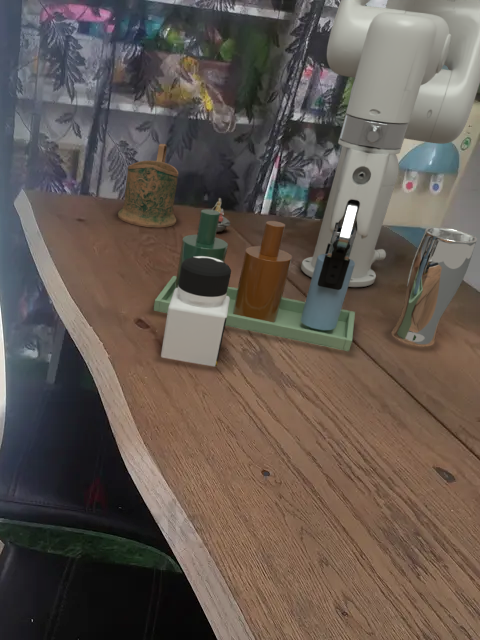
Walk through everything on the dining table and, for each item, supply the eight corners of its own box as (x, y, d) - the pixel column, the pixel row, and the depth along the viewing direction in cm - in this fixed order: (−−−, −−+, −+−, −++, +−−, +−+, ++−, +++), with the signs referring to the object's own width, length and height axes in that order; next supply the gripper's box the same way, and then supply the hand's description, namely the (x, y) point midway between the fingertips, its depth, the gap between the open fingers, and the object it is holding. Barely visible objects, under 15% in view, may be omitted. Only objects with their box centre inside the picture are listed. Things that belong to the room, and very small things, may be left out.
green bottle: (196, 293, 112) (212, 203, 105) (224, 308, 108) (243, 216, 101) (164, 298, 109) (177, 207, 101) (192, 314, 105) (208, 220, 97)
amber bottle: (254, 304, 111) (275, 215, 103) (285, 320, 107) (309, 228, 99) (223, 311, 107) (242, 218, 100) (254, 327, 103) (276, 232, 96)
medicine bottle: (215, 370, 92) (235, 275, 85) (159, 360, 93) (174, 265, 86) (219, 347, 98) (238, 257, 91) (166, 338, 99) (181, 248, 91)
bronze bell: (183, 208, 153) (193, 145, 146) (171, 230, 139) (181, 162, 132) (129, 200, 155) (136, 137, 148) (112, 221, 141) (119, 153, 134)
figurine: (226, 229, 144) (232, 196, 141) (230, 235, 141) (237, 203, 137) (199, 226, 144) (205, 194, 140) (203, 233, 140) (209, 200, 137)
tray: (351, 324, 109) (355, 311, 108) (348, 354, 100) (352, 340, 99) (171, 288, 114) (173, 275, 113) (152, 313, 105) (154, 299, 104)
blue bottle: (316, 314, 107) (339, 233, 101) (343, 327, 104) (368, 244, 97) (293, 319, 105) (315, 237, 98) (319, 332, 102) (344, 248, 95)
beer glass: (436, 336, 108) (476, 232, 99) (437, 354, 103) (480, 246, 94) (387, 326, 110) (423, 223, 101) (386, 343, 104) (424, 235, 95)
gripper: (405, 150, 83) (356, 306, 94) (402, 130, 96) (359, 268, 107) (337, 140, 84) (297, 295, 95) (344, 121, 98) (307, 258, 108)
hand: (330, 279), depth 101 cm, fingers closed on blue bottle, 5 cm apart
